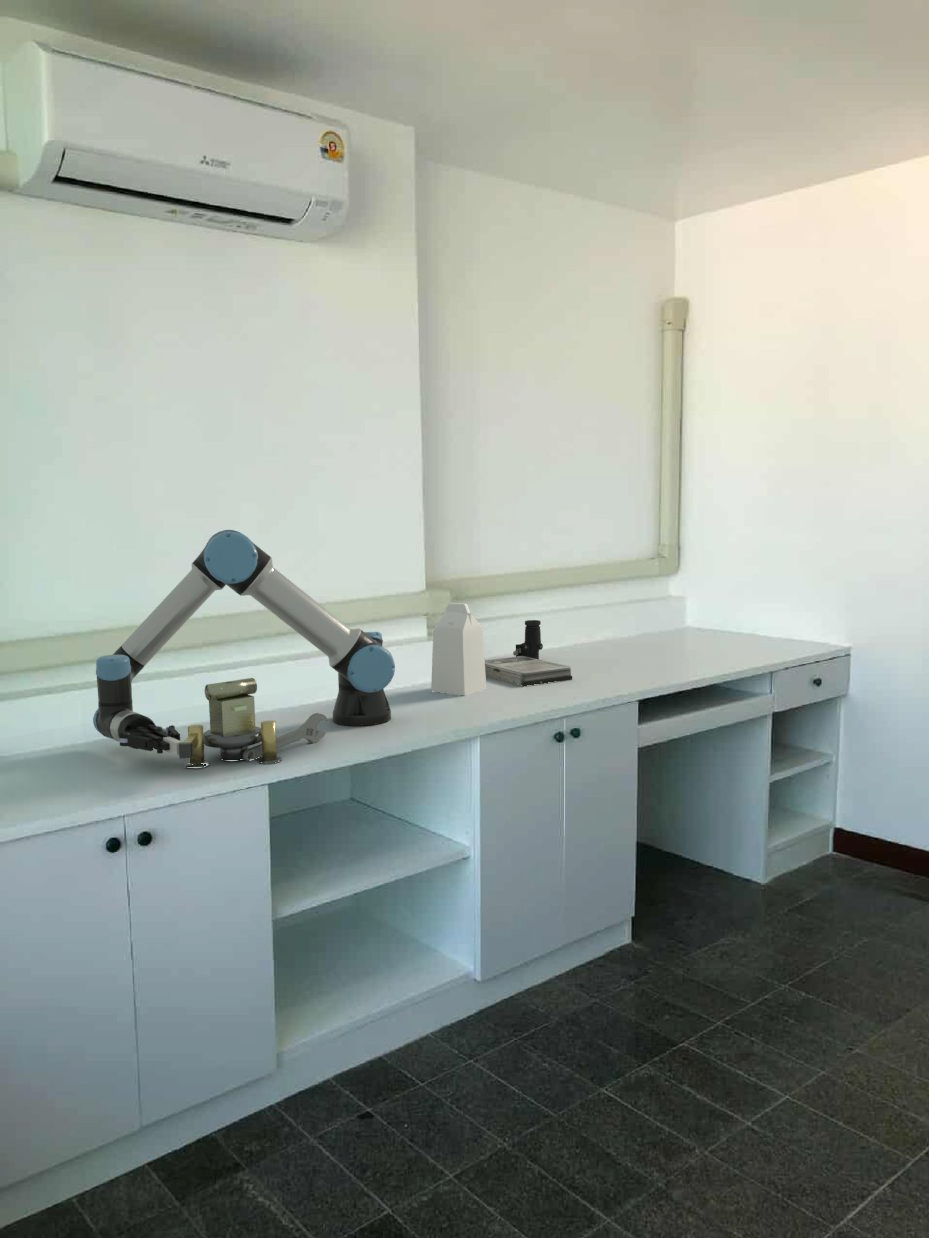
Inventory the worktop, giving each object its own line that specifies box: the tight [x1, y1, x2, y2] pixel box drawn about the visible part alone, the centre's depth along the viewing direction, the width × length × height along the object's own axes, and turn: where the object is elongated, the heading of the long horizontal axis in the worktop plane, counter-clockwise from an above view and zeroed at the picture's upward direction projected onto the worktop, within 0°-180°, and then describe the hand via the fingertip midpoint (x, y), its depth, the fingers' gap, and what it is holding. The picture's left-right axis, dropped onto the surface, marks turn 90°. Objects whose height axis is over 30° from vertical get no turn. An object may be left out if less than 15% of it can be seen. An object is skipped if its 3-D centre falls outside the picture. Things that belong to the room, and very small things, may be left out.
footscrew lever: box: [178, 724, 206, 764], centre depth 216 cm, size 14×3×8 cm, turn 5°
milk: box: [430, 602, 487, 696], centre depth 299 cm, size 12×12×26 cm
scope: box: [512, 619, 544, 660], centre depth 350 cm, size 8×14×10 cm
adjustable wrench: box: [243, 712, 328, 761], centre depth 234 cm, size 25×6×2 cm
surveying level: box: [184, 677, 283, 767], centre depth 225 cm, size 19×21×18 cm
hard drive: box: [485, 656, 573, 687], centre depth 321 cm, size 18×27×4 cm
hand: (180, 748), depth 211 cm, fingers closed
